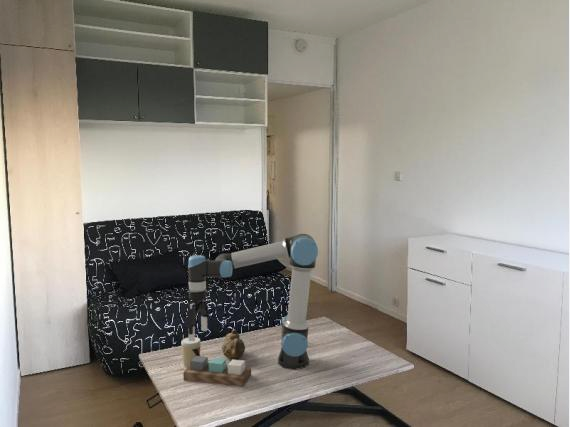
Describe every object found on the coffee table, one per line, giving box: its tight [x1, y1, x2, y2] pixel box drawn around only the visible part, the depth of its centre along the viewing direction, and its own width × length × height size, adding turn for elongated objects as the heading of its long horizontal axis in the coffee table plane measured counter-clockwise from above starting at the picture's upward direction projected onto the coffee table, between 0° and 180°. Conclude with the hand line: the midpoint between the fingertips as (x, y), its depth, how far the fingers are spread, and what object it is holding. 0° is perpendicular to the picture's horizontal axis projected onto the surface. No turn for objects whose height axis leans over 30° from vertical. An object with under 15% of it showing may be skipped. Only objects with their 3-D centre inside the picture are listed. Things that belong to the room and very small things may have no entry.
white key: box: [228, 359, 246, 375], centre depth 211 cm, size 6×6×5 cm
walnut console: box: [183, 362, 252, 388], centre depth 213 cm, size 28×12×4 cm, turn 77°
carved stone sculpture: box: [221, 328, 246, 360], centre depth 234 cm, size 21×12×15 cm, turn 18°
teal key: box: [208, 357, 227, 373], centre depth 213 cm, size 6×6×5 cm
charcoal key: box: [190, 355, 209, 371], centre depth 215 cm, size 6×6×5 cm
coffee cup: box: [180, 336, 202, 368], centre depth 228 cm, size 9×9×12 cm
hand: (198, 335), depth 215 cm, fingers open, 13 cm apart
